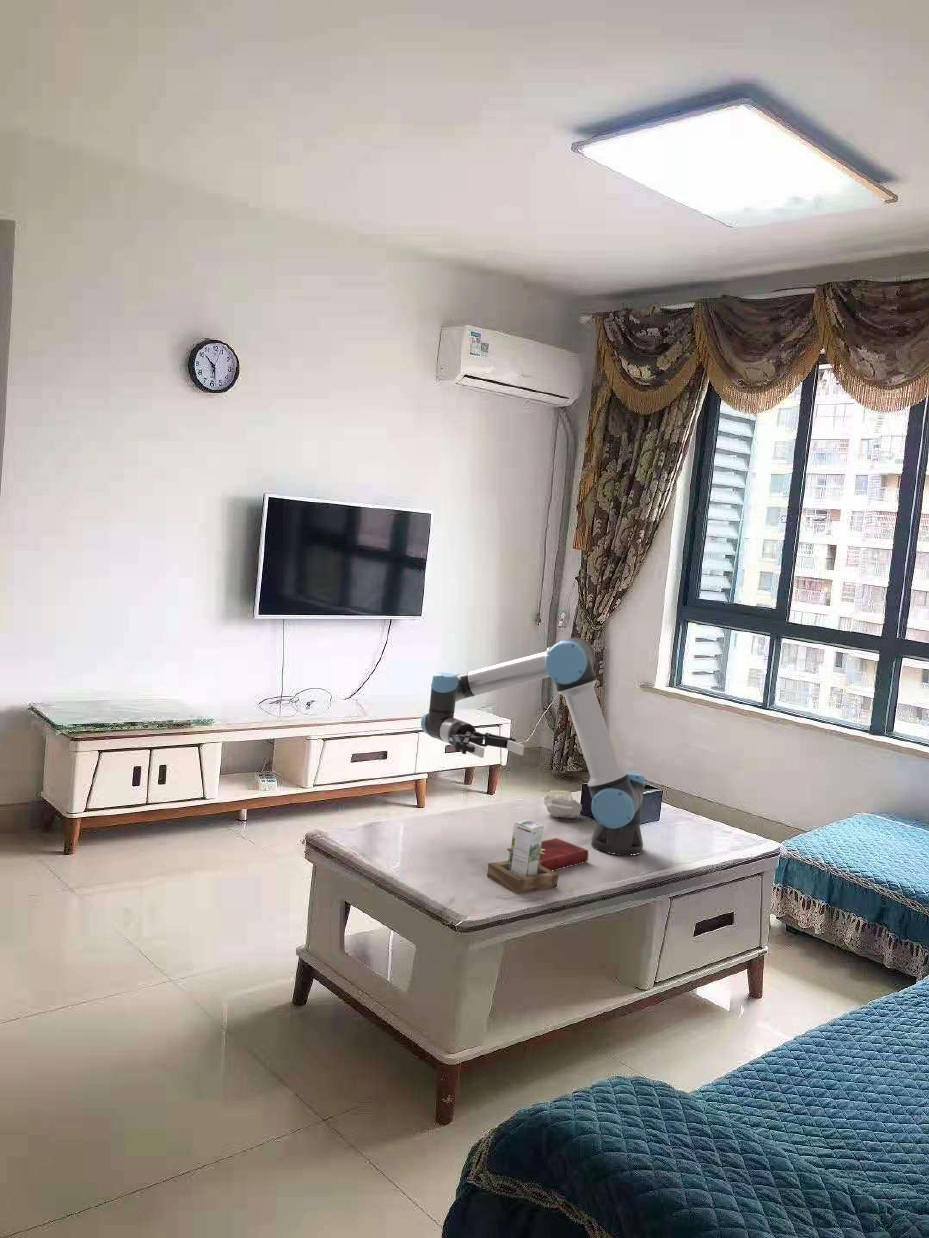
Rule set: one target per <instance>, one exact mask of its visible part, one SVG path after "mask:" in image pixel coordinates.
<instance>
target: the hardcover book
mask: <svg viewBox="0 0 929 1238" xmlns="http://www.w3.org/2000/svg"><path fill="white" fill-rule="evenodd" d="M506 850H507V851H508V853H507V854H508V855H507V861H509V860H510V852H511V847H509V848H508V847H507V848H506ZM586 861H587V862H588V861H589V849H587V848H584V847H581V846H579V845H576V844H575V843H571V842H569V841H566V840H563V839H561V838H558V837H554V838H549V839H545V840H542V844H541V852H540V859H539V864H540V865H541V866H543V867H545V868H547V869H549V870H551V871H552V870H554V871H557V870H556V869H558V870H560V869H559V868H562V869H564V868H563V867H566V868H568V867H567V866H570V865H574V866H576V865H575V864H578V865H580V864H579V863H582V862H586ZM587 862H586V863H587ZM582 864H583V863H582ZM570 867H571V866H570Z"/></svg>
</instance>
